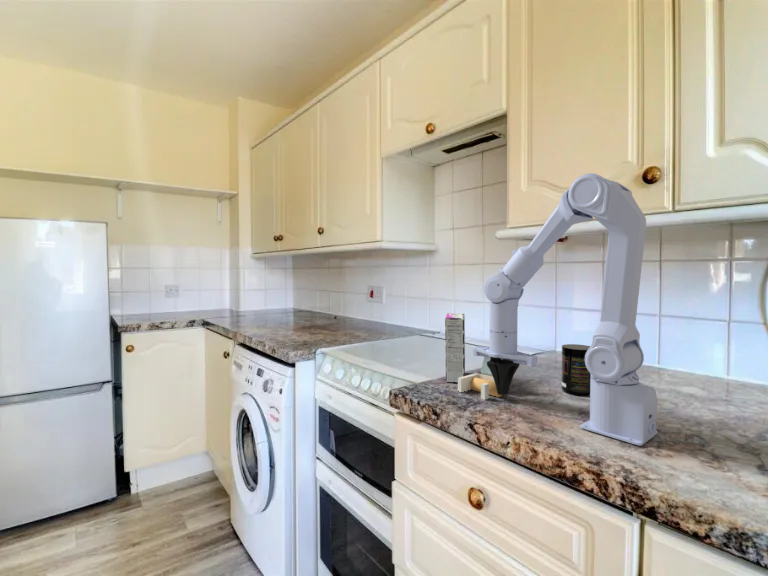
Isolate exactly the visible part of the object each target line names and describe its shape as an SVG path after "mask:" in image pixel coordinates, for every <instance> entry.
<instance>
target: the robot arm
mask: <svg viewBox="0 0 768 576" xmlns="http://www.w3.org/2000/svg"><path fill="white" fill-rule="evenodd" d="M593 219H595V220H596V221H597V222H598V223H600V224H601V226H603V227H604V228H605V229H606V230H607V231H608V235H607V236H608V237H607V238H608V239H607V247H606V257H605V267H604V269H605V270H604V278H603V289H602V298H601V307H600V309H601V310H600V317H599V318H600V319H599V323H598V326H597V327H596V329H595V330H594V333H593V334H592V340H591V343H590V345H589V346H590V348H589V349H588V350H587V352H586V354H585V365H586V367H587V369H588V371H589V372H590V373H591V378H590V395H589V420H587V421H585V422H583V423H582V424H580V425H579V428H581V429H583V430H586V431H589V432H593V433H595V434H600V435H602V436H606V437H609V438H612V439H615V440H618V441H622V442H626V443H629V444H631V445H632V444H633V445H635V446H640V447H641V446H643V445H644V444H646V443H647V442H648V441H650V440H651V439H652V438H654V437H655V436H656V435H658V430H657V416H658V415H657V412H658V411H657V409H658V408H657V406H658V404H657V403H658V398H657V396H658V395H657V391H656V389H655V387H652V386H650V385H646V384H644V383H641V382H640V377H639V375H638V372H637V371H638V370H639V369H640V368H641V367H642V365H643V363H644V361H645V358H644V357H645V355H644V354H645V353H644V352H643V349H642V347H641V344H640V337H641V335H640V334H641V333H640V332H639V329H638V328H637V326H636V325H637V324H636V323H637V322H636V321H637V314H638V312H637V311H638V304H639V294H640V287H641V286H640V285H641V277H642V267H643V258H644V250H645V249H644V248H645V241H646V240H645V239H646V232H647V231H646V230H647V229H646V228H647V218H646V215H645V214H644V212H643V211H642V209H641V208H640V206H639V204H638V202H637V201H636V200H635V198H634V196H633V192H632V190H631V189H629V188H627V187H626V186H624V185H623V184H621V183H620V182H618V181H615V180H610V179H607V178H605V177H604V176H602V175H599V174H598V173H597V174H596V173H584V174H582V175H579V176H578V177H577V178H575V180H574V181H573V182H572V183H571V185H570V186H569V189H567V190H566V191H564V192H563V193H562V194H561V197H560V199H559V202H558V204H557V206H556V207H555V209H554V210H553V211H552V212H551V214H550V216H549V217H548V219H547V220H545V222H544V224H543V225H542V227H541V228H540V229H539V230H538V232H537V233H536V234H535V236H534V237H533V239H532V240H531V242H530V243H529V245H525V246H524V245H523V246H520V247H519V248H518V249H513V251H512V252H511V258H510V259H509V260H508V261H507V263H506V264H505V265H503V267H501V268H500V269H499V270H498V273H497V274H493V275H490V276H488V277H487V280H486V282H484V283H485V284H484V286H483V287H484V289H483V290H484V291H483V292H484V294H485V297H486V298H487V300H489V347H487V346H486V347H485V346H481V345H479V346H478V345H477V346H473V356H474V357H488V358H490V361H488V362H487V366H488V367H489V369H490V371H491V373H492V376H493V378H494V381H495V385H496V388H497V393H498V394H500V395H503V396H506V395H508V394H509V391H510V388H511V384H512V381H513V378H514V376H515V374H516V372H517V370H518V369H519V367H520V365H523V366H527V367H529V368H533V367H537V366H538V357H537V355H536V356H535V355H532V354H531V355H530V354H528V353H524V352H522V351H518V315H519V314H518V313H519V311H518V309H519V308H518V307H519V301H520V299H521V298H522V296H523V295H524V291H525V286H526V285H527V284H528V282H530V280H532V278H533V277H534V276H535V275H536V274H537V272H538V271H539V270H540V269H541V268H542V267H543V266H544V264H545V263H544V262H545V261H544V255H546V254H547V252H548V251H549V250H550V249H551V248H552V247H553V246H554V245H555V244H556V242H558V241H559V239H561V238H562V237H563V235H565V234H566V232H568V230H569V229H570V228H571V227H572V226H574V225H576V224H580V223H584V222H588V221H592V220H593Z"/></svg>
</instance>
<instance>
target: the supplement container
mask: <svg viewBox="0 0 768 576" xmlns="http://www.w3.org/2000/svg"><path fill="white" fill-rule="evenodd" d="M590 346H591V345H584V344H572V343H570V344H567V343H566V344H562V345H561V390H562V392H564V393H566V394H568V395H571V396H576V397H577V396H579V397H587V396H589V397H590V378H591V373H590V372H589V371H588V369H587V367H586V365H585V354H586V352H587V350H588V349H589V348H590Z"/></svg>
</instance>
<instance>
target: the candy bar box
mask: <svg viewBox="0 0 768 576" xmlns="http://www.w3.org/2000/svg"><path fill="white" fill-rule="evenodd" d="M444 320H445V321H444V322H445V323H444V324H445V327H444V330H445V335H444V336H445V339H444V341H445V382H446V383H447V382H455V383H454V384H458V378H459V377H463V376H466V338H465V337H466V329H465V327H466V326H465V325H466V324H465V323H466V321H465V320H466V319H465V313H464V312H461V313H459V312H458V313H457V312H454V313H453V312H449V313H446V316H445V318H444Z"/></svg>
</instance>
